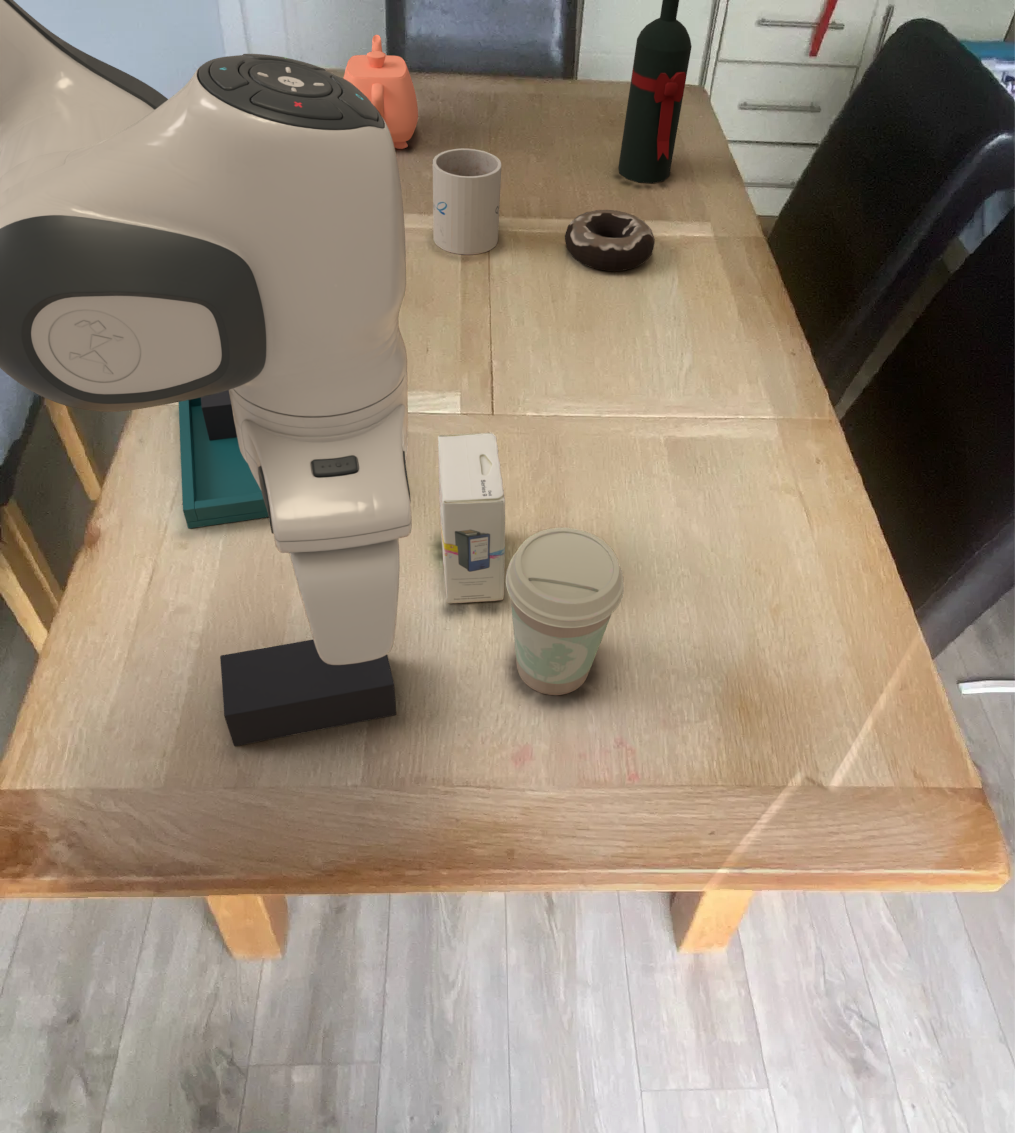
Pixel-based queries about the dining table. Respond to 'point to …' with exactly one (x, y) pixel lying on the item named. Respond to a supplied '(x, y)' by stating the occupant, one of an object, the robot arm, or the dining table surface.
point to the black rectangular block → (218, 416)
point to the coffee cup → (561, 605)
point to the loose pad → (300, 692)
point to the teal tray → (214, 475)
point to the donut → (609, 240)
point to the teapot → (386, 89)
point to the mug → (466, 201)
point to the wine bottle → (655, 98)
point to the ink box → (471, 517)
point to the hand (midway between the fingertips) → (339, 589)
